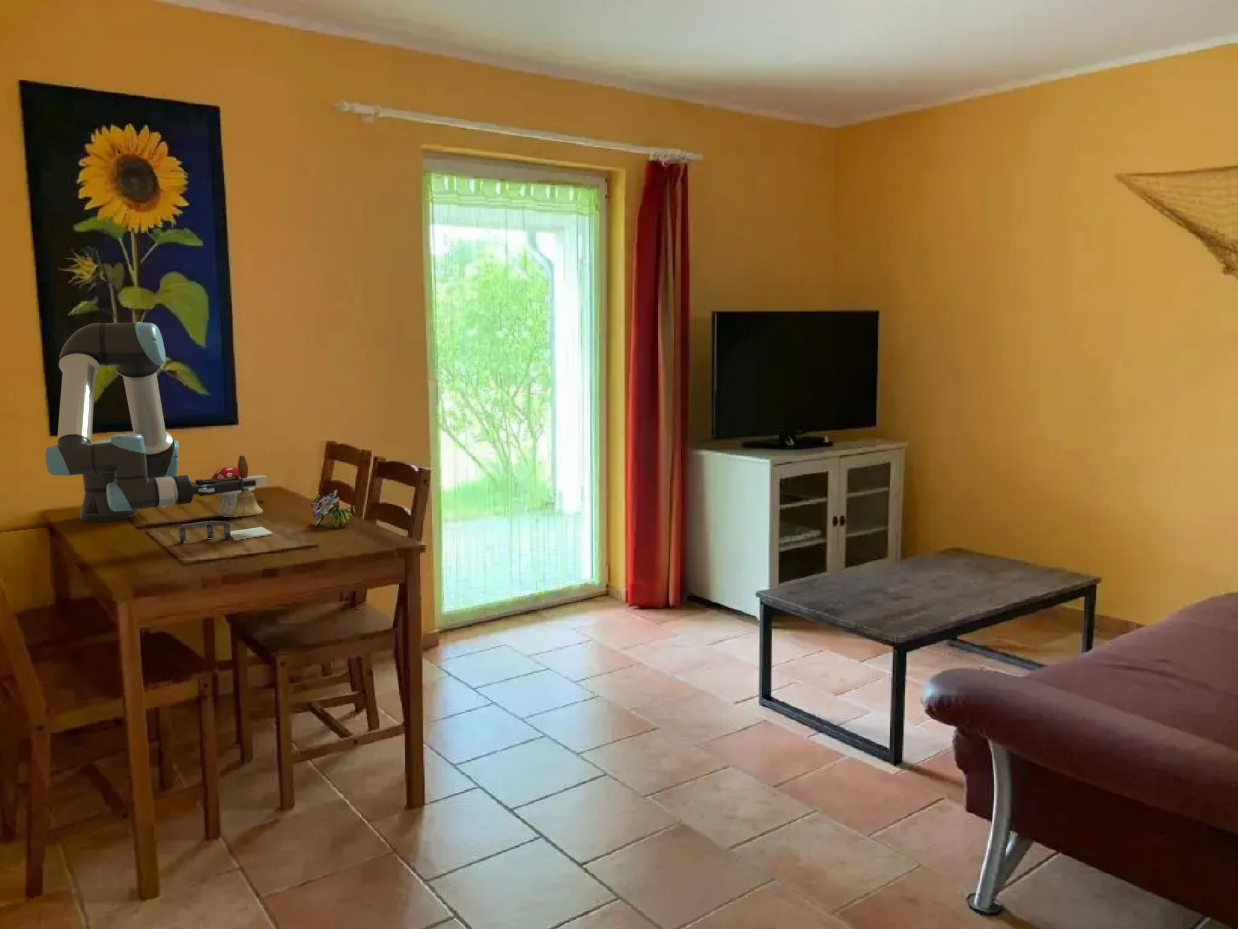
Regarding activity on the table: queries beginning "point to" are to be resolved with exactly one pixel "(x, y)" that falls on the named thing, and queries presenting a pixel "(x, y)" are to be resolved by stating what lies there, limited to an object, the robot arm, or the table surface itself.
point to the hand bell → (245, 495)
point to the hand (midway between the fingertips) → (265, 480)
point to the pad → (249, 533)
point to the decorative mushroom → (228, 497)
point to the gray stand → (209, 529)
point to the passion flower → (330, 509)
